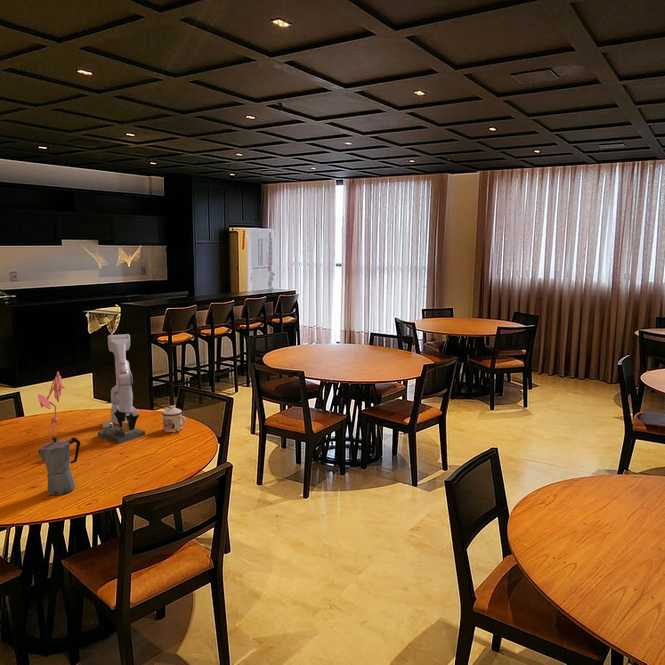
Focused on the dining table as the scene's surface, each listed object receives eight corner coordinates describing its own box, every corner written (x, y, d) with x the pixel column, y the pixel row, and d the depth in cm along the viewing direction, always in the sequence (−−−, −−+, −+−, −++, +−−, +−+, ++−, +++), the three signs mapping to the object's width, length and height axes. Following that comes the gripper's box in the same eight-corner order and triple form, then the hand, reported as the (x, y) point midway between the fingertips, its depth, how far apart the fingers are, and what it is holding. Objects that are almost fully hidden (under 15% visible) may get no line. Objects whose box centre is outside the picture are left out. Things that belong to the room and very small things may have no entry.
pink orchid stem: (37, 466, 231) (32, 380, 225) (49, 445, 255) (45, 366, 250) (79, 463, 235) (75, 378, 230) (87, 442, 259) (84, 365, 254)
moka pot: (33, 494, 206) (29, 439, 203) (74, 479, 219) (70, 428, 216) (49, 501, 201) (45, 445, 198) (89, 485, 213) (86, 433, 210)
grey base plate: (97, 436, 267) (97, 423, 266) (124, 428, 278) (124, 416, 277) (118, 443, 257) (117, 430, 256) (145, 435, 268) (144, 422, 267)
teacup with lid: (158, 431, 274) (157, 407, 272) (170, 425, 282) (169, 402, 280) (180, 434, 269) (179, 410, 267) (191, 428, 278) (190, 405, 276)
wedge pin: (122, 436, 266) (122, 421, 265) (128, 434, 269) (128, 420, 268) (126, 438, 265) (126, 423, 263) (133, 436, 267) (132, 421, 266)
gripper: (142, 400, 263) (144, 429, 265) (123, 394, 271) (125, 423, 273) (129, 403, 257) (130, 433, 259) (110, 398, 266) (111, 426, 268)
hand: (127, 428), depth 266 cm, fingers open, 7 cm apart
